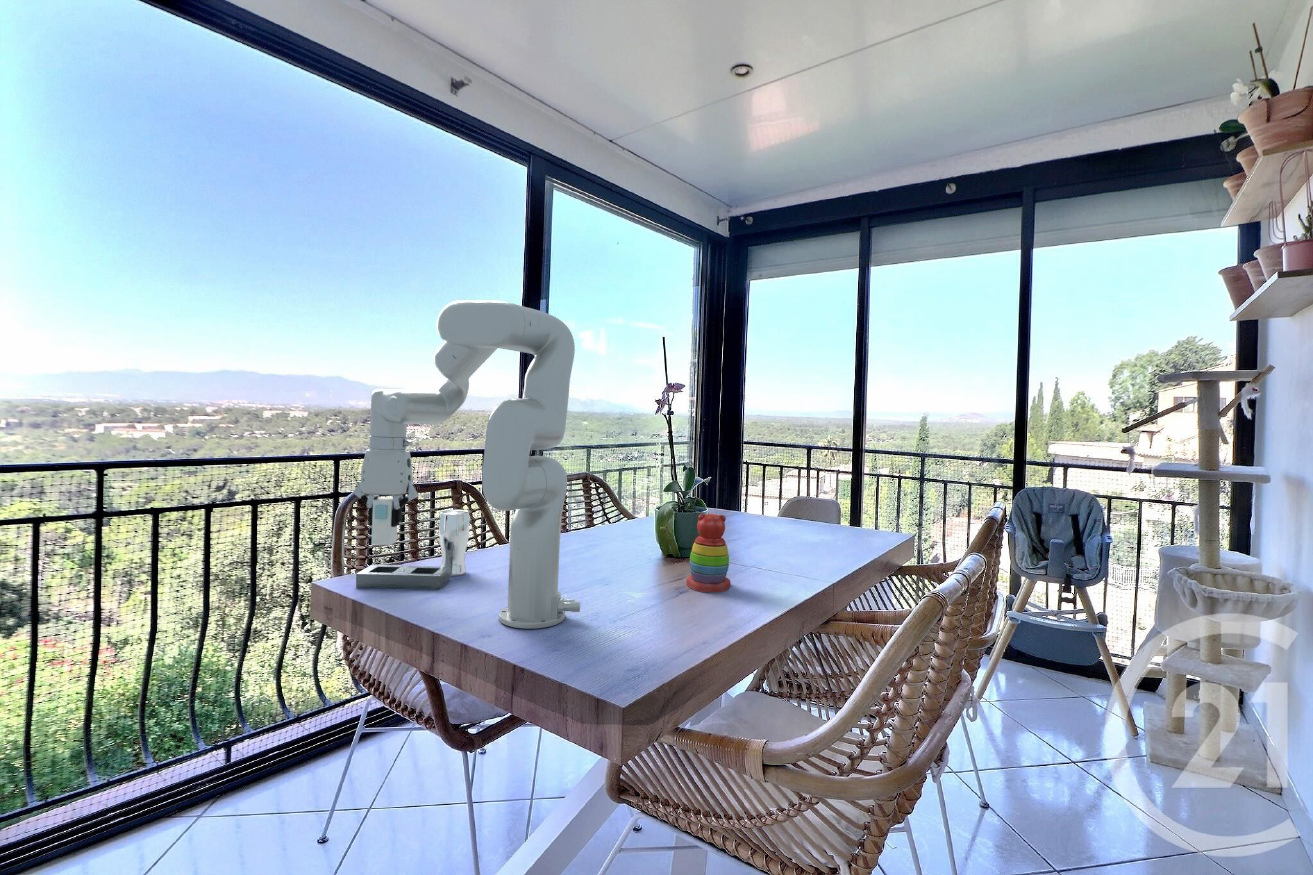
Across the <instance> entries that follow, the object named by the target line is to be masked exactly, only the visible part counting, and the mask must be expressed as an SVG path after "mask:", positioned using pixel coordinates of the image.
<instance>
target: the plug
mask: <svg viewBox="0 0 1313 875" xmlns="http://www.w3.org/2000/svg"><path fill="white" fill-rule="evenodd" d="M392 509H394V503H393V497H378V499H375V500H373V516H372V526H371V543H370V544H371V546H391V545H393V544H395V543H396V542H397V540H398V525H397V526H395V527H392V526H391V518H392Z"/></svg>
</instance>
